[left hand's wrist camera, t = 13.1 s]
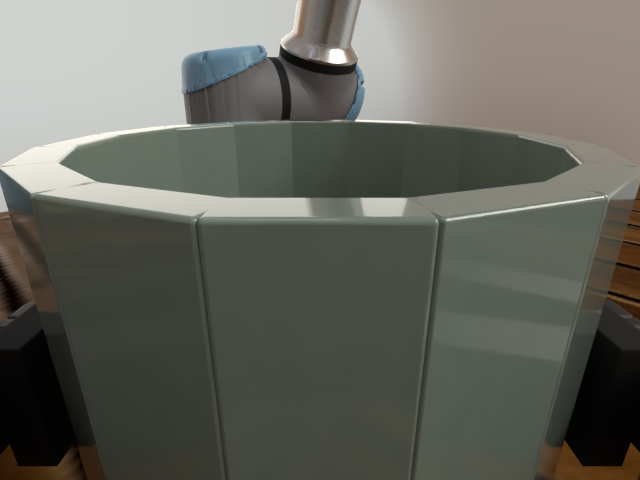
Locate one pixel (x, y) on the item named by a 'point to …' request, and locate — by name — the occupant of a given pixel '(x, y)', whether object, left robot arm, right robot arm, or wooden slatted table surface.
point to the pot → (320, 295)
